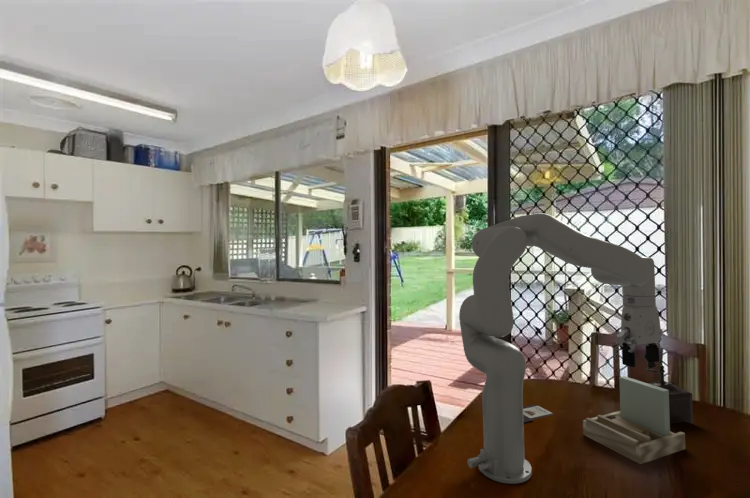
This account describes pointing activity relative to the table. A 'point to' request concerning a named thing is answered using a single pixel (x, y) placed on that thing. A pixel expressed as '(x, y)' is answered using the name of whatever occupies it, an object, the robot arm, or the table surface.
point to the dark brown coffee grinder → (674, 396)
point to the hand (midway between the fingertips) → (640, 363)
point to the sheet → (645, 405)
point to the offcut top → (632, 426)
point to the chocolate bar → (534, 413)
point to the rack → (631, 439)
